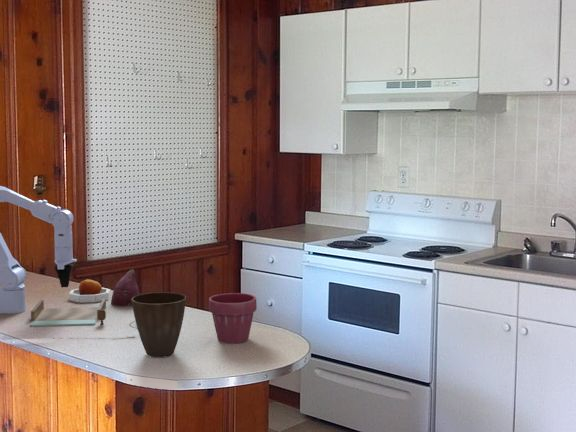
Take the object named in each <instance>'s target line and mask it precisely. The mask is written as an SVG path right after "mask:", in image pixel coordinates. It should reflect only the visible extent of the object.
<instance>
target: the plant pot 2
mask: <svg viewBox="0 0 576 432" xmlns="http://www.w3.org/2000/svg"><path fill="white" fill-rule="evenodd" d="M257 304H258V303H257V297H256V296H255V295H254V294H249V293H243V292H229V293H220V294H215V295H211V296H210V297H209V298H208V310H209V312H210V313H211V314H212V319H213V325H214V328H215V333H216V337H217V341H218V342H220V343H224V344H232V343H233V344H242V343H245V342H248V341H249V336H250V333H251V329H252V328H251V327H252V323H253V317H254V313H255V312H256V311H257V310H258V309H257V307H258V305H257Z"/></svg>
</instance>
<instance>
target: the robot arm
mask: <svg viewBox="0 0 576 432" xmlns="http://www.w3.org/2000/svg"><path fill="white" fill-rule="evenodd" d="M0 203H10V204H13V205H15V206H17V207H21V208H23V209H25V210H28V211H30V213H31V215H32V217H35V218H37V219H40V220H42V221H44V222H46V223H48V224H51V225H52V226H53V227H54V232H53V233H54V234H53V235H54V260H53V261H54V264H56V265H55V266H54V270H55V272H56V275H57V276H58V279H59V285H60V287H61V288H68V287H69V286H70V280H71V274H72V271H73V268H74V266H75V265H74V264H73V263H77V261H78V259H77V258H74V253H73V252H74V250H73V227H72V226H73V222H74V219H75V217H74V214H73V213H72V211H70V210H69V209H67V208H63V209H62V207H61V206H55V205H53V204H50V203H48V200H46V199H42V200H41V199H39V200H36V201H35V200H32V199H30V198H29V197H26V196H24V195H22V194H20V193H18V192H16V191H14V190H12V189H10V188H8V187H6V186H2V185H0ZM71 263H72V264H71ZM27 273H28V272H27V271H26V269H25V268H24V267H22V266H21V265H20V263H19V261H18V260H17V259H15V258H14V257H13V255H12V253H11V251H10V249H9V247H8V245H7V243H6V241H5V239H4V236H3V235H2V233H1V232H0V286H1V288H0V314H9V315H10V314H20V313H21V314H22V313H24V312H25V311H26V308H27V307H26V286H25V284H24V283H25V281H26V279H27V275H28V274H27Z"/></svg>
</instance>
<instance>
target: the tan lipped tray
mask: <svg viewBox="0 0 576 432" xmlns="http://www.w3.org/2000/svg"><path fill="white" fill-rule="evenodd" d="M44 307H45V301H44V300H43V299H40V300H39V301H38V302H37V303H36V304H35V306H34V307H33V308H32V309H31V311H30V319H31V320H30V321H31V322H34V321H49V320H89V319H97V320H99V319H98V311H106V308H107V300H106V299H102V301H100V304H99V305H98V307H97V306H95V307H64V308H63V307H57V308H55V307H54V308H44Z"/></svg>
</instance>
